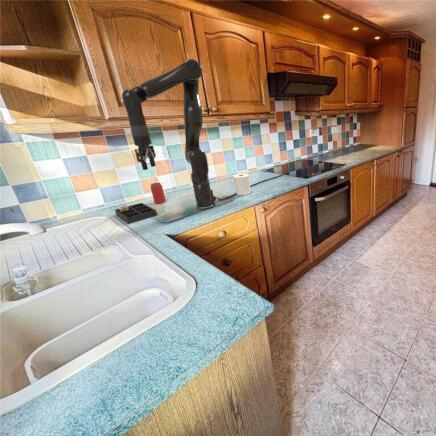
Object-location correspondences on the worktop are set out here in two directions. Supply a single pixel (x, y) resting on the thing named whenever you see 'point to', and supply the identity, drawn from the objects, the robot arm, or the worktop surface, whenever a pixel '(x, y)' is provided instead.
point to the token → (123, 208)
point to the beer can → (157, 193)
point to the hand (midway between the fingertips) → (149, 168)
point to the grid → (136, 213)
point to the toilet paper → (242, 184)
